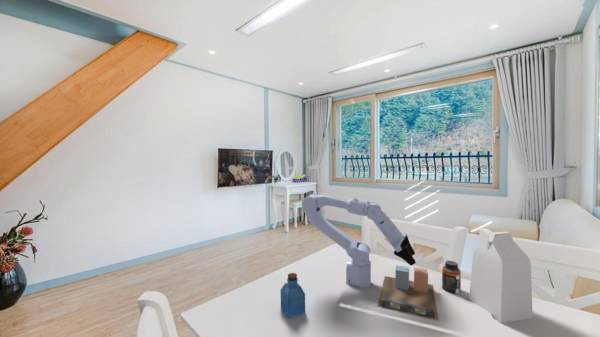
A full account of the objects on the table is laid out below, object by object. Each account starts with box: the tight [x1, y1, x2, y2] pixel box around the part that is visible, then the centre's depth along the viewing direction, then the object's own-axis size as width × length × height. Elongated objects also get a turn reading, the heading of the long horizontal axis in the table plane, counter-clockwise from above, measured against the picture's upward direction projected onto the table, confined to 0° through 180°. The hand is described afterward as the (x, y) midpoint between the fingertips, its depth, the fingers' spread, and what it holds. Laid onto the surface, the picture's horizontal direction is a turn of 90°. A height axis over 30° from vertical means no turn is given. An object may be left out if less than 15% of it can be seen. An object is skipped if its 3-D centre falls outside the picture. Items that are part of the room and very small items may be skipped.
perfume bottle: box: [280, 272, 306, 318], centre depth 83 cm, size 6×6×12 cm
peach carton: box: [413, 266, 429, 293], centre depth 94 cm, size 5×4×7 cm
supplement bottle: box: [441, 260, 462, 295], centre depth 93 cm, size 6×6×11 cm
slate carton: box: [394, 265, 410, 290], centre depth 96 cm, size 5×4×7 cm
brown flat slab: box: [377, 275, 439, 321], centre depth 90 cm, size 18×23×3 cm
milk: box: [468, 231, 534, 324], centre depth 82 cm, size 12×12×26 cm
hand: (413, 259), depth 93 cm, fingers open, 7 cm apart
